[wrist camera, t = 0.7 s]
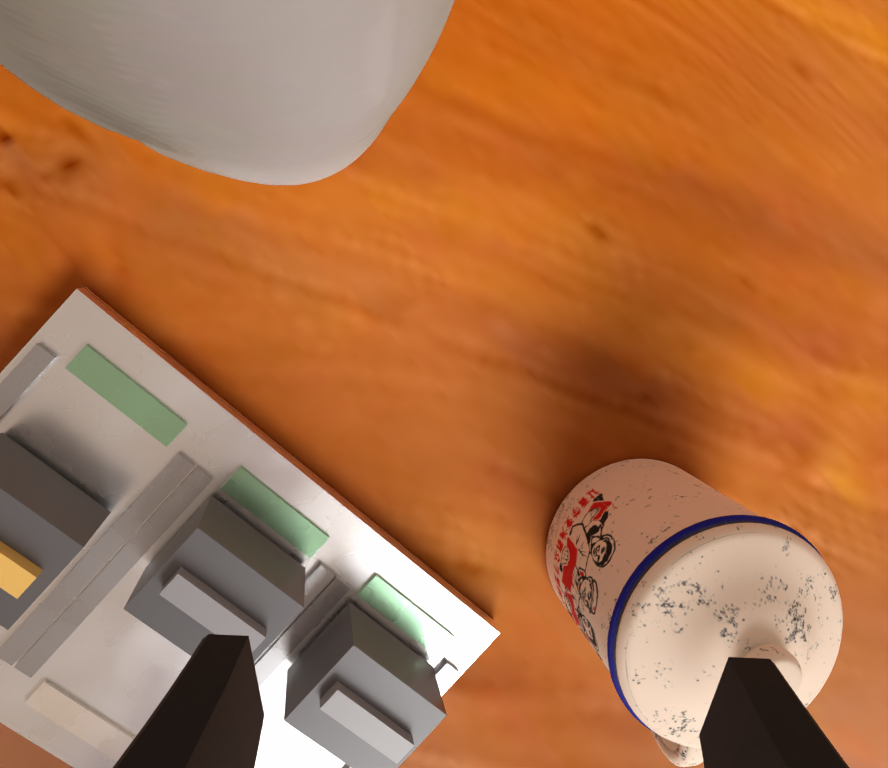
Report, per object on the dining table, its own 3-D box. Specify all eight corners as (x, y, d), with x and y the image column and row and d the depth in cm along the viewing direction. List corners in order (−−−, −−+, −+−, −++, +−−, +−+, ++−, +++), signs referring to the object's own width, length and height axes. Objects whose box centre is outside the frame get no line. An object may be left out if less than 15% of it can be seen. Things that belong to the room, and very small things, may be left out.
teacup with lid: (539, 456, 33) (654, 564, 22) (722, 445, 35) (917, 541, 23) (536, 693, 35) (638, 901, 24) (708, 673, 37) (880, 860, 26)
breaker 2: (373, 731, 33) (380, 798, 29) (287, 669, 31) (282, 730, 27) (433, 666, 33) (449, 724, 29) (349, 602, 31) (354, 653, 27)
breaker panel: (266, 864, 35) (264, 891, 33) (-182, 583, 29) (-209, 601, 27) (493, 619, 34) (501, 636, 33) (86, 287, 29) (74, 289, 27)
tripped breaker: (44, 585, 29) (0, 639, 25) (-68, 509, 28) (-132, 552, 24) (111, 512, 29) (77, 554, 25) (2, 432, 28) (-51, 463, 24)
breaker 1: (242, 636, 31) (230, 694, 27) (145, 567, 30) (118, 617, 26) (305, 567, 31) (303, 615, 27) (211, 495, 29) (195, 534, 25)
